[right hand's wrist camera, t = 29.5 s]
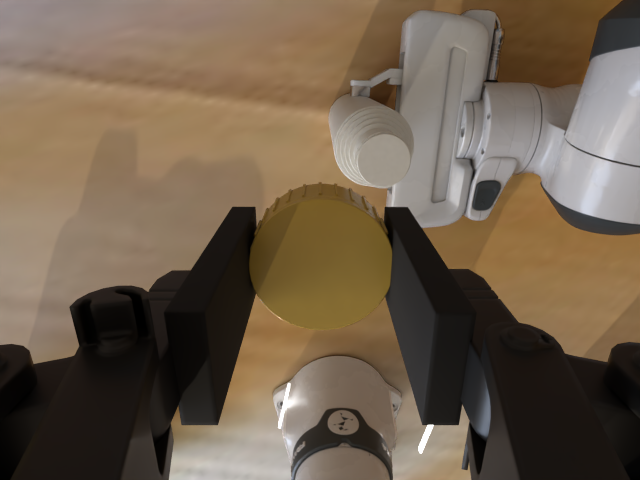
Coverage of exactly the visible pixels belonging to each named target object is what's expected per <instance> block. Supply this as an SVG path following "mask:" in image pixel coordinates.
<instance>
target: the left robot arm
mask: <svg viewBox="0 0 640 480" xmlns="http://www.w3.org/2000/svg"><path fill="white" fill-rule="evenodd" d="M495 22H496V26H497V29H494V27H495ZM504 37H505V30H504V29H501V21H500V18H499V17H498V15H497V14H496V13H495V12H493V11H491V10H485V9H470V10H467V11H465V12H463V13H462V14H461V15H458V14H453V13H447V12H440V11H431V10H418V11H415V12H414V13H412V14H411V15H410V16H409V17H408V18H407V19H406V20H405V21H404V22H403V25H402V35H401V46H400V57H399V68H398V69H386V70H384V71H382V72H380V73H379V74H377V75H375V76H373V77H372V78H370V79H369V80H351V84H350V96H353V97H355V96H363V97H370V88H372V87H373V86H375V85H377V84H379V83H381V82H383V81H384V80H386V83H387V84H392V85H397V91H396V102H395V111H396V112H398V113H399V114H400V115H402V116H403V117H404V119H405V120H406V121H407V122H408V124H409V126H410V128H411V130H412V134H413V138H414V150H413V155H412V158H411V164H410V167H409V170H408V172H407V174H406V175H405V176H404V178H403V179H402V180H400V181H399V182H398V183H396V184H394V185H393V187H389V188H388V192H387V203H386V207H408V208H409V210H410V211H411V213H412V214H413V216H414V217H415V219H416V220H417V222H418V223H419V225H420V226H421V228H428V227H438V226H445V225H449V224H452V223H454V222H456V221H457V220H459V219H460V218H461V217H462V215H464V216H466V217H467V218H469V219H471V220H477V221H481V220H485V219H486V218H487V217H488V216H489V215H490V213H491V211H492V209H493V207H494V205H495V203H496V201H497V200H498V198H499V196H500V194H501V192H502V190H503V189H504V187H505V185H506V184H507V182H508V180H509V179H510V177H511V176H512V175H518V174H523V173H534V174H537V175H539V176H540V177H541V180H542V181H541V186H542V188H543V190H544V192H545V193H546V195H547V196H548V198H549V200H550V201H551V203H552V204H553V206H554V207H555V209H556V210H557V212H558V213H559V214H560V216H561V217H562V218H563V219H564V220H565V221H567V222H568V223H569V224H570V225H572V226H574V227H576V228H578V229H581V230H585V231H588V232H593V233H599V234H607V235H631V234H639V233H640V0H623V1H622V2H620V3H619V4H618V5H617V6H615V7H614V8H613V9H612V10H611V11H610V12H608V13H607V14H606V15H605V16H604V17H603V18H602V19H601V20H600V21H599V24H598V28H597V32H596V36H595V39H594V43H593V47H592V51H591V55H590V59H589V61H590V64H589V67H588V70H587V73H586V76H585V79H584V81H583V84H568V85H564V86H560V87H556V88H547V87H543V86H540V85H538V84H535V83H523V82H498V81H497V78H498V72H499V66H500V55H501V54H500V53H501V48H502V45H503V42H504ZM483 80H486V81H483ZM273 400H274V404H275V407H276V411H277V415H278V419H279V425H278V428H280V427H281V430H282V434H283V437H284V441H285V445H286V449H287V452H288V456H289V460H290V463H291V477H292V480H393V474H392V452H391V450H395V445H396V443H395V440H397V430H396V423H395V419H396V416H397V413H398V411H399V408H400V405H401V403H402V395H401V393H400V392H399V391H398V390H397V389H395V388H394V387H392V386H390V385H388V384H387V383H386V382H385V381H384V380H383V378H382V377H381V375H380V374H379V373H378V372H377V371H376V370H375V369H374V368H373V367H372V366H371V365H369V364H367V363H366V362H364V361H361V360H359V359H356V358H352V357H347V356H330V357H324V358H320V359H317V360H315V361H313V362H311V363H309V364H307V365H306V366H304V367H303V368H302V369H301V370H299V371H298V373H297V374H296V375H295V376H294V377H293V378H292V379H291V380H290V381H289V382H288V383H285V384H283V385H281V386H280V387H278V388H277V389H275V390H274V392H273ZM283 402H284V403H283ZM432 428H433V425H428V426H427V428H426V431H425V433H424V436H423V438H422V440H421V443H420V445H419V448H418V449H419V453H422V451H423V449H424V446H425V444H426V442H427V439H428V437H429V435H430V432H431V430H432Z"/></svg>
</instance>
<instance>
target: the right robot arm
mask: <svg viewBox="0 0 640 480" xmlns="http://www.w3.org/2000/svg"><path fill="white" fill-rule="evenodd" d="M384 224H385V226H386V228H387V231H388V233H389V234H387V236H388V238H389V241H390V244H391V246H392V265H391V279H390V287H389V290H388V292H387V293H386V295H385V298H386V301H387V305H388V308H389V311H390V315H391V318H392V322H393V325H394V329H395V332H396V336H397V339H398V342H399V346H400V349H401V353H402V356H403V360H404V363H405V367H406V370H407V373H408V377H409V380H410V384H411V387H412V391H413V394H414V398H415V401H416V404H417V408H418V411H419V415H420V418H421V422H422V425H459V420H460V414H461V407H462V404H463V406H464V409H465V411H466V413H467V416H468V418H469V420H470V422H469V428H468V433H467V439H466V445H465V451H464V456H463V463H462V469H464V470H467V469H468V464H470V472H471V480H640V343H634V342H627V343H621V344H617V345H616V346H615V347H613V348H612V349H611V353H610V356H609V359H608V362H603V361H598V360H592V359H587V358H582V357H577V356H572V355H568V354H565V353H564V351H563V349H562V347H561V345H560V344H559V343H558V342H557V341H556V340H555V338H554V337H552V336H551V335H549V334H548V333H546V332H545V331H543V330H541V329H538V328H536V327H533V326H531V325H527V324H523V323H519V322H518V321H517V320H516V319H515V317H514V316H513V315H512V314H511V312H510V311H509V310H508V309H507V307H506V306H505V305H504V304H503V302H502V301H501V300H500V299H498V296H497V295H496V294H495V292H494V291H493V290H491V287H490V286H489V285H488V283H487V282H486V281H485V280H484V278H482V277H481V276H479V275H477V274H476V273H474V272H472V271H471V270H469V269H448V268H447V266H446V265H445V263H444V262H443V260H442V258H441V257H440V255H439V254H438V252H437V251H436V249H435V248H434V246H433V245H432V243H431V242H430V240H429V239H428V237H427V236H426V234H425V232H424V231H423V229H422V228H421V226H420V225H419V223H418V222H417V220H416V219H415V217H414V216H413V214H412V213H411V211H410V210H409V208H408V207H385V214H384ZM256 228H257V226H256V209H255V207H232V208H231V210H230V211H229V213H228V215H227V216H226V218H225V219H224V221H223V222H222V224H221V225H220V227H219V228H218V230H217V231H216V233H215V234H214V236H213V238H212V239H211V241H210V242H209V244H208V245H207V247H206V248H205V250H204V251H203V253H202V254H201V256H200V257H199V259H198V260H197V262H196V264H195V265H194V267H193V268H192V270H191V271H171V272H169V273H167V274H166V275H164V276H162V277H161V278H159V279H157V281H156V282H155V283H154V284H153V286H152V287H151V288H150V289H149V292H147V291H145V290H144V289H143V288H139V287H135V286H115V287H109V288H103V289H100V290H97V291H94V292H91V293H88V294H87V295H85V296H83V297H81V298H79V299H77V300H76V301H75V302H74V303H73V304H72V305H71V306H70V311H71V315H72V319H73V323H74V327H75V330H76V334H77V338H78V342H79V348H78V350H77V352H76V354H75V356H72V357H68V358H63V359H58V360H53V361H48V362H42V363H37V364H33V361H32V358H31V355H30V351H29V350H28V349H26V348H25V347H24V346H21V345H14V344H7V345H0V480H169V473H170V465H171V457H172V450H173V442H174V441H173V434H172V428H171V421H172V419H173V416H174V414H175V412H176V409H177V407H178V406H179V412H180V418H181V424H182V425H218V423H219V419H220V416H221V412H222V409H223V405H224V402H225V399H226V395H227V392H228V388H229V385H230V381H231V378H232V374H233V371H234V368H235V364H236V361H237V357H238V354H239V350H240V347H241V343H242V340H243V337H244V333H245V330H246V326H247V323H248V319H249V316H250V312H251V309H252V306H253V302H254V299H255V295H256V291H255V290H254V287H253V284H252V282H251V278H250V272H249V256H250V248H251V245H252V243H253V240H254V238H255V237H254V233H255V231H256Z"/></svg>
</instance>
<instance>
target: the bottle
mask: <svg viewBox="0 0 640 480" xmlns="http://www.w3.org/2000/svg"><path fill="white" fill-rule="evenodd" d="M329 126H330V132H331V137H332V143H333V148H334V154H335V159H336V162H337V164H338V166H339V168H340V169H341V171H342V172H343V173H344V175H345V176H346V177H348V178H349V179H350V180H352V181H353V182H355V183H357V184H360V185H364V186H372V187H376V188H389V187H393V185H394V184H396V183H398V182H399V181H400V180H402V179H403V178H404V176H405V175H406V174H407V172H408V170H409V167H410V164H411V158H412V155H413V150H414V138H413V134H412V130H411V128H410V126H409V124H408V122H407V121H406V120H405V119H404V117H403V116H402V115H400V114H399V113H398V112H396V111H395V110H393V109H391V108H389V107H387V106H385V105H383V104H380V103H378V102H376V101H374V100H372V99H370V98H368V97H363V96H355V97H353V96H350V93H349V94H345V95H343V96H341V97H340V98H338V99H337V100H336V101H335V102H334V104H333V105H332V107H331V109H330V112H329Z"/></svg>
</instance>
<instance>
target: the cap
mask: <svg viewBox="0 0 640 480" xmlns="http://www.w3.org/2000/svg"><path fill="white" fill-rule="evenodd" d="M387 234H389V233H388V231H387V228H386V226H385V224H384V221H383V219H382V218H381V219H380V217H379V215H378V213H377V210H376V208H375V206H373V207H372V206H371V205H370V204H369V203H368V202H367V201H366V199H365V197H364V196H362V197H361V196H360V195H358V194H357V193H355V192H353V191H352V189H351V188H349V189H346V188H344V187H340V186H337V184H334V185H331V184H321V182H319V184H312V185H307V186H306V184H303V187H299V188H297V189H294V190H291V189H290V190H289V191H288V193H286V194H285V195H283V196H282V197H280V198H276V200H275V203H274V204H273V205H272V206H271V207H270V208H269V209H268V208H267V209H266V211H265V213H264V216H263V219H262V221H261V220H260V221H259V223H258V226H257V228H256V231H255V233H254V237H255V238H254V240H253V243H252V245H251V248H250V256H249V272H250V278H251V282H252V284H253V287H254V290H255V291H256V293H257V295H258V297H259V298H260V300H261V301H262V303H263V304H264V305H265V306H266V307H267V308H268V309H269V310H270V311H271V312H272V313H273V314H275V315H276V316H277V317H279V318H280V319H282V320H284V321H286V322H288V323H290V324H292V325H295V326H298V327H301V328H306V329H312V330H331V329H337V328H342V327H345V326H348V325H351V324H353V323H355V322H357V321H359V320H361V319H363V318H364V317H366V316H367V315H368V314H370V313H371V312H372V311H373V310H374V309H375V308H376V307H377V306H378V305H379V304H380V303H381V301H382V300H383V298H384V297H385V295H386V293H387V292H388V290H389V287H390V279H391V265H392V246H391V244H390V241H389V238H388V236H387Z"/></svg>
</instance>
